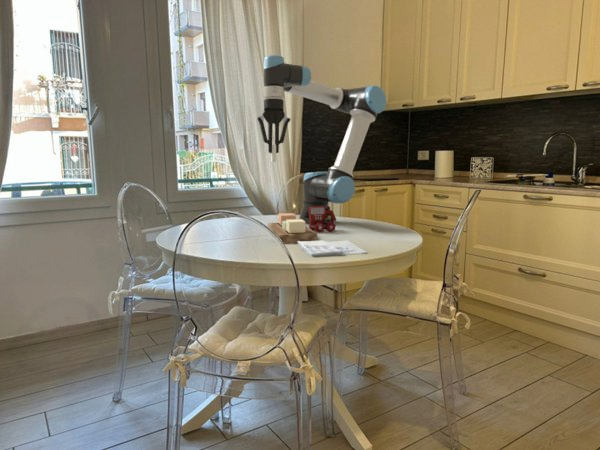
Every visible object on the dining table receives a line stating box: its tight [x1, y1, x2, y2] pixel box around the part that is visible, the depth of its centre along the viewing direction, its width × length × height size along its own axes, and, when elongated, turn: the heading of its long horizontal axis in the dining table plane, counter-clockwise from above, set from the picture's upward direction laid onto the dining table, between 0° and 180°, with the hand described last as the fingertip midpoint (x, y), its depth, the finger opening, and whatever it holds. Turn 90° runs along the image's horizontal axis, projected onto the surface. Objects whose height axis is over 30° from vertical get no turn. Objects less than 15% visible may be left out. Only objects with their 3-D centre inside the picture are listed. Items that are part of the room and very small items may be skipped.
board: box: [267, 221, 318, 244], centre depth 169 cm, size 14×26×3 cm, turn 13°
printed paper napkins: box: [297, 239, 368, 257], centre depth 147 cm, size 19×20×2 cm
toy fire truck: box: [308, 205, 337, 234], centre depth 179 cm, size 7×12×10 cm, turn 113°
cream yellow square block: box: [286, 218, 306, 233], centre depth 161 cm, size 6×6×4 cm
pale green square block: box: [282, 221, 286, 230], centre depth 169 cm, size 6×6×4 cm
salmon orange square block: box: [277, 212, 297, 226], centre depth 176 cm, size 6×6×4 cm
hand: (273, 161), depth 169 cm, fingers closed
